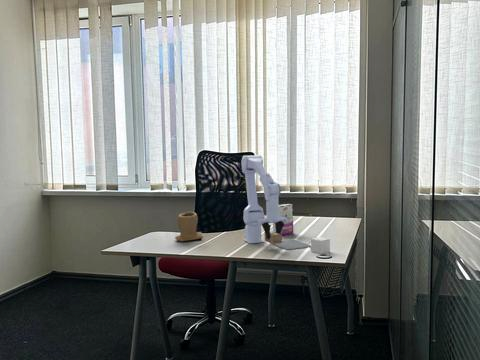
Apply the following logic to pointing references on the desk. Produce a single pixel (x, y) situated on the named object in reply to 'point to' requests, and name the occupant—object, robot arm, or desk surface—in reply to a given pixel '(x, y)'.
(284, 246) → the rubber mat
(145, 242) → the desk surface
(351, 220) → the desk surface
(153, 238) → the desk surface
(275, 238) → the brown box with strip
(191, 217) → the stone cup
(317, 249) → the white cube
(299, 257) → the desk surface
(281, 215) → the candy bar box
